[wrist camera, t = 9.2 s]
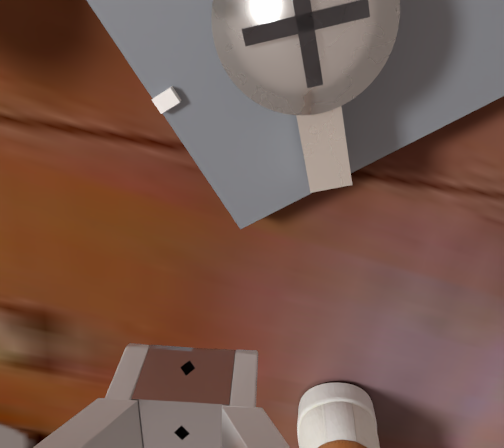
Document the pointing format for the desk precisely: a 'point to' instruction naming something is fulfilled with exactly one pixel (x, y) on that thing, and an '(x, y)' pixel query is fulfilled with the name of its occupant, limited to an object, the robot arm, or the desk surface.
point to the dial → (307, 65)
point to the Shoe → (336, 418)
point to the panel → (286, 126)
